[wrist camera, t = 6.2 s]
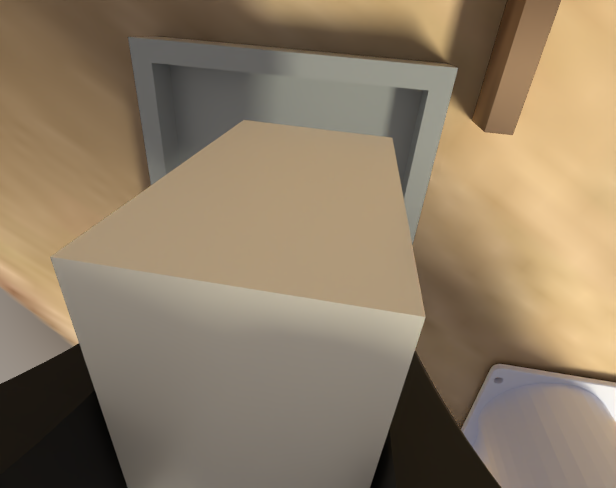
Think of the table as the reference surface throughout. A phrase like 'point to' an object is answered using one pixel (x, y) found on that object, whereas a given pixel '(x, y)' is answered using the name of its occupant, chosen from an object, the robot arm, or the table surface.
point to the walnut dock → (513, 63)
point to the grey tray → (288, 100)
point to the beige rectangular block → (252, 312)
